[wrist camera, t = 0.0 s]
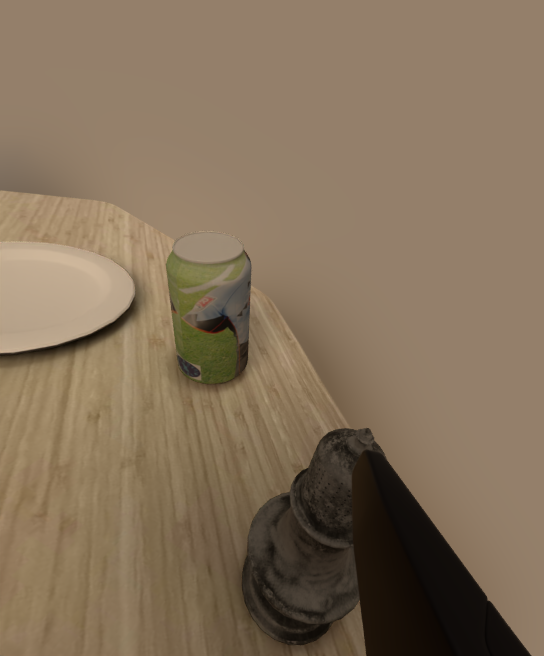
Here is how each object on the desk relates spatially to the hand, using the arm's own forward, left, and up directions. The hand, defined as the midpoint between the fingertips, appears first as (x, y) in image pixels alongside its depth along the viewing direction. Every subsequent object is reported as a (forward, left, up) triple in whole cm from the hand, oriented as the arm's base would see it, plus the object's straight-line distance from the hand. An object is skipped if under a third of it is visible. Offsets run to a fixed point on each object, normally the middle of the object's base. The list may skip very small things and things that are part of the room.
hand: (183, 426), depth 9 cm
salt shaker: (+3, -6, -14) cm, 16 cm away
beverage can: (+19, +2, -14) cm, 24 cm away
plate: (+24, +21, -14) cm, 35 cm away
